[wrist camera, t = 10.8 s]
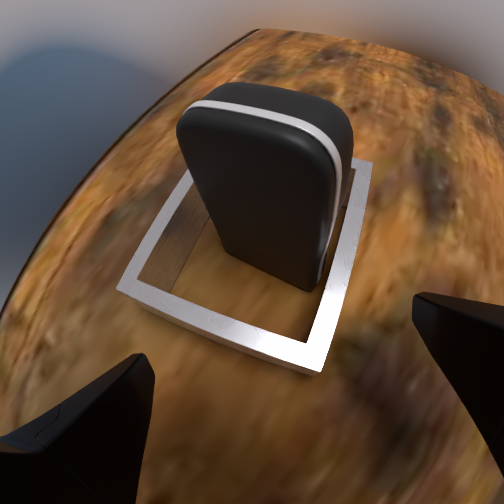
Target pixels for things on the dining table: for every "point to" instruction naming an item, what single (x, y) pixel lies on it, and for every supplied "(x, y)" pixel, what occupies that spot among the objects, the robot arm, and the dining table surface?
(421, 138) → the dining table surface
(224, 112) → the battery charger
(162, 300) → the hollow square metal frame
